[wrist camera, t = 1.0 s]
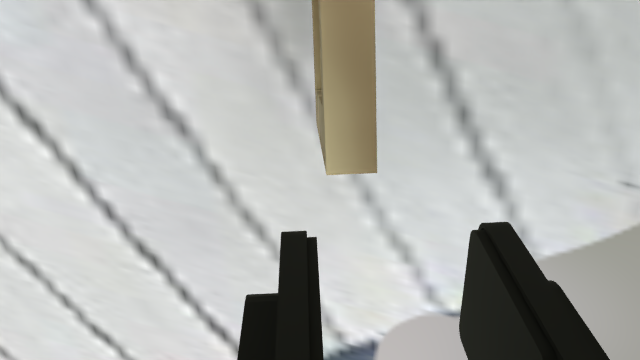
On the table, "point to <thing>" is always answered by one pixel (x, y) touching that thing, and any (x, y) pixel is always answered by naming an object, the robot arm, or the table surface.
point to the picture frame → (345, 84)
